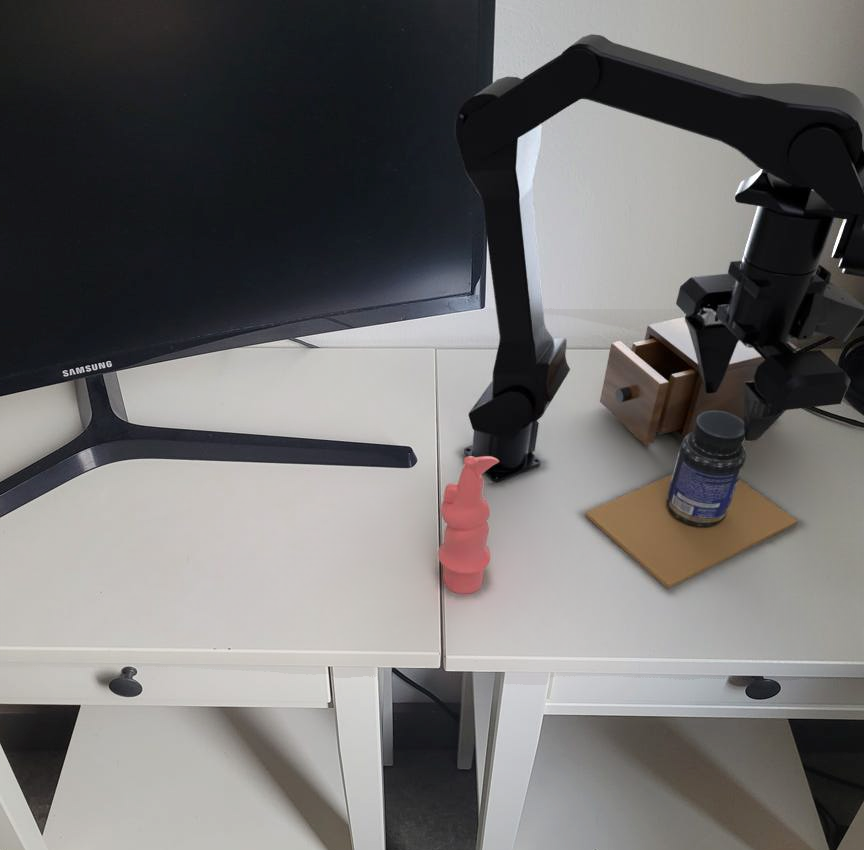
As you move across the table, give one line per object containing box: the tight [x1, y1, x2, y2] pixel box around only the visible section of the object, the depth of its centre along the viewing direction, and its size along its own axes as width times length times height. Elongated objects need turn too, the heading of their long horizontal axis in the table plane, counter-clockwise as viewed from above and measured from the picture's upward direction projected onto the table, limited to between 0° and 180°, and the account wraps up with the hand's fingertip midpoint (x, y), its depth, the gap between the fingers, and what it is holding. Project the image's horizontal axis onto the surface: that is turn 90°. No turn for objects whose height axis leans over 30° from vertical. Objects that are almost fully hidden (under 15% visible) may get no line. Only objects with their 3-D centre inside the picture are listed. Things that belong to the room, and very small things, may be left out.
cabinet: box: [644, 316, 798, 443], centre depth 97 cm, size 13×11×10 cm
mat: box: [584, 473, 798, 590], centre depth 85 cm, size 18×12×1 cm, turn 120°
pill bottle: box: [666, 411, 747, 527], centre depth 82 cm, size 6×6×11 cm
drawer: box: [599, 338, 699, 446], centre depth 95 cm, size 13×9×8 cm
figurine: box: [437, 456, 499, 595], centre depth 74 cm, size 5×5×15 cm
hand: (730, 415), depth 77 cm, fingers open, 7 cm apart
